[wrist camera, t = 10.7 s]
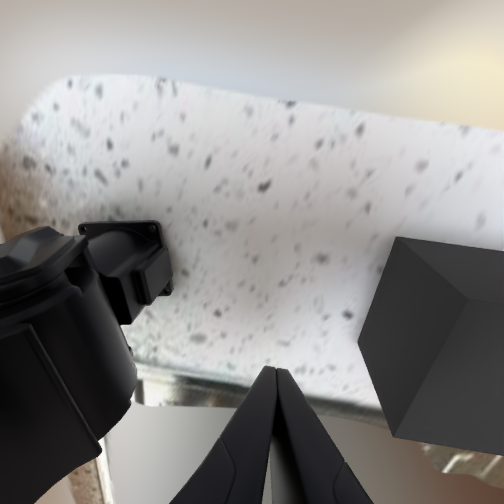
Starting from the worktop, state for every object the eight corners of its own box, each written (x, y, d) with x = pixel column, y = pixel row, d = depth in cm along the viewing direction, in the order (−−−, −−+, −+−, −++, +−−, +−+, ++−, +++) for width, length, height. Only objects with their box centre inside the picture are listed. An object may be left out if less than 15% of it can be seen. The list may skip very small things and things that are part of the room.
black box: (356, 342, 23) (392, 437, 16) (395, 236, 19) (467, 299, 12) (485, 362, 23) (582, 469, 16) (553, 258, 19) (729, 337, 11)
